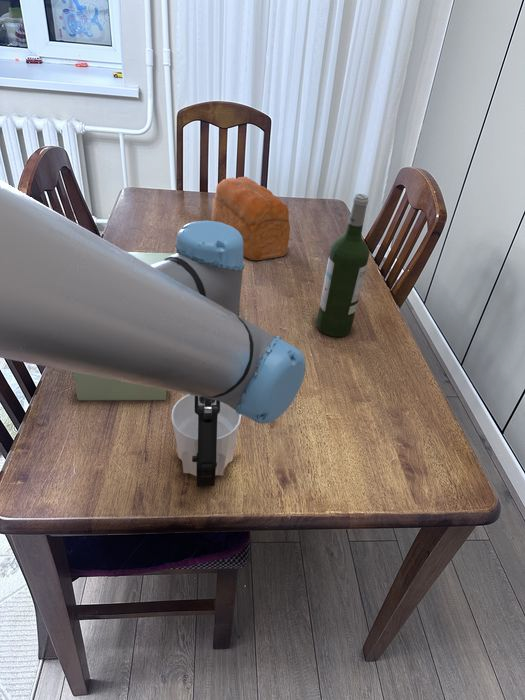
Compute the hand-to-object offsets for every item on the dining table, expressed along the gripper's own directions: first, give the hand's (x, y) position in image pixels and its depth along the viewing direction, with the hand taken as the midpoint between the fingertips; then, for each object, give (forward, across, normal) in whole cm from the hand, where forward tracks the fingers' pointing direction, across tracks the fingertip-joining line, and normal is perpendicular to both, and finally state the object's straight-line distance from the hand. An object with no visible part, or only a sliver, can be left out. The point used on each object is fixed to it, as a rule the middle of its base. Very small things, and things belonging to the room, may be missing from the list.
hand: (205, 455), depth 76 cm
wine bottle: (+1, +37, -29) cm, 47 cm away
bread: (+1, +81, -13) cm, 82 cm away
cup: (+1, 0, 0) cm, 1 cm away
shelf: (+1, +33, +14) cm, 36 cm away
